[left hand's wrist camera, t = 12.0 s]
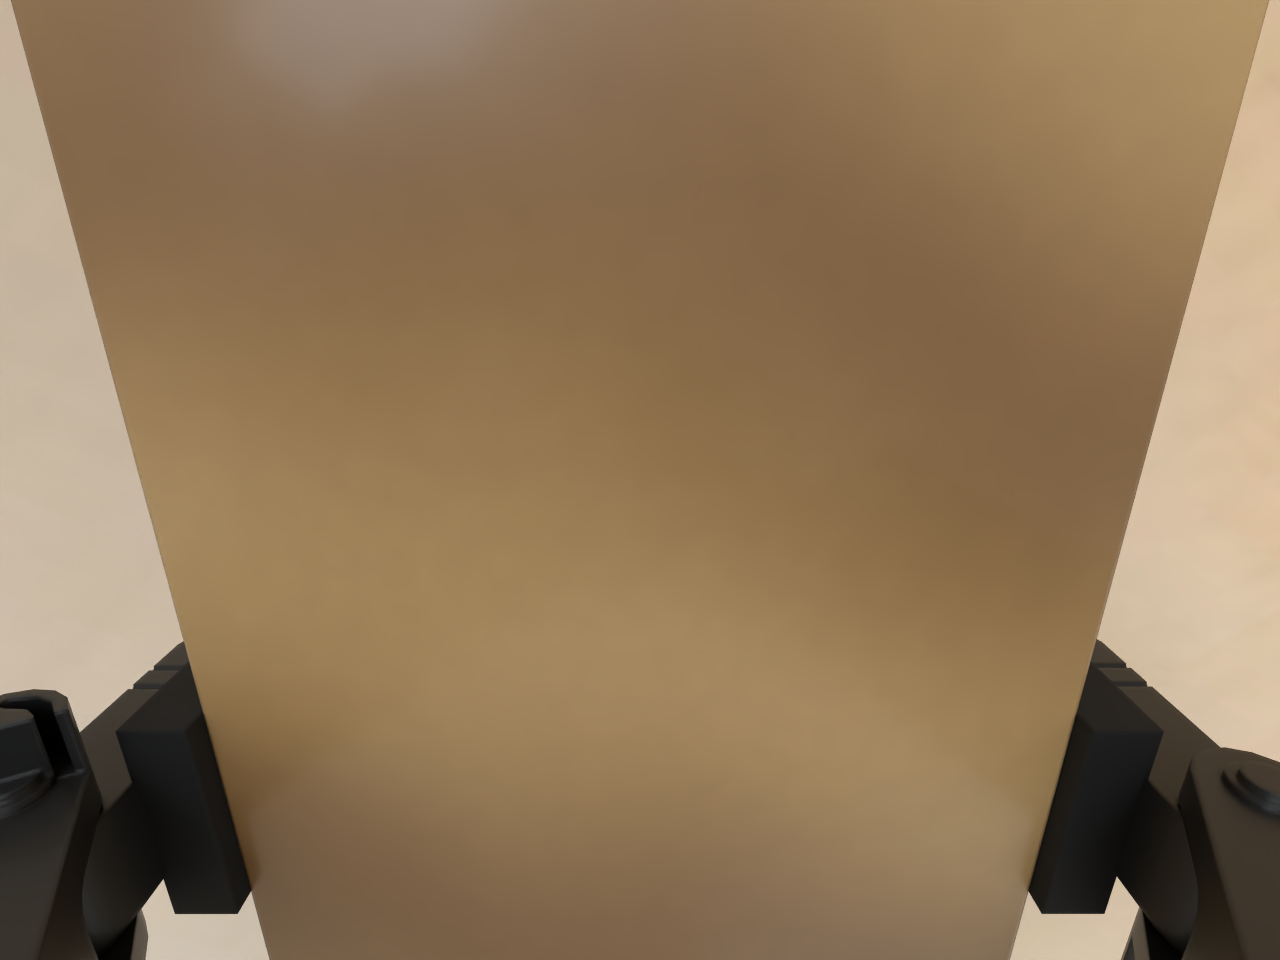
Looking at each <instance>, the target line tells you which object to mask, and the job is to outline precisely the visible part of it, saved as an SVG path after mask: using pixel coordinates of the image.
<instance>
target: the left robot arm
mask: <svg viewBox="0 0 1280 960" xmlns="http://www.w3.org/2000/svg"><path fill="white" fill-rule="evenodd" d="M1146 683H1147V682H1146V681H1145V680H1144V679H1143V678H1142V677H1141V676H1139V675H1138V674H1137V673H1136V672H1135V671H1134V670H1133V669H1132V668H1127V667H1126V663H1125V662H1124V661H1123V660H1121V659H1120V658H1119V657H1118V656H1117V655H1116V654H1115V653H1114V652H1112V651H1111V650H1110V649H1109V648H1108V647H1107V646H1106V645H1105V644H1103V643H1102V642H1101V641H1099V640H1097V639H1096V643H1095V646H1094V650H1093V654H1092V657H1091V661H1090V665H1089V668H1088V672H1087V676H1086V680H1085V683H1084V687H1083V691H1082V694H1081V698H1080V702H1079V705H1078V709H1077V713H1076V717H1075V720H1074V724H1073V728H1072V731H1071V735H1070V739H1069V742H1068V746H1067V750H1066V754H1065V757H1064V761H1063V765H1062V768H1061V772H1060V776H1059V779H1058V783H1057V787H1056V791H1055V794H1054V798H1053V802H1052V805H1051V809H1050V813H1049V816H1048V820H1047V824H1046V828H1045V831H1044V835H1043V839H1042V842H1041V846H1040V850H1039V853H1038V857H1037V861H1036V865H1035V868H1034V872H1033V876H1032V879H1031V883H1030V887H1029V890H1028V891H1029V893H1030V894H1031V896H1032V898H1033V900H1034V901H1035V903H1036V905H1037V906H1038V908H1039V910H1040V911H1041V913H1042V914H1104V913H1105V910H1106V907H1107V904H1108V901H1109V898H1110V895H1111V892H1112V889H1113V886H1114V883H1115V880H1116V877H1118V878H1119V880H1120V881H1121V882H1122V884H1123V885H1124V886H1125V888H1126V889H1127V890H1128V892H1129V893H1130V895H1131V896H1132V897H1133V899H1134V900H1135V901H1136V903H1137V904H1138V905H1139V910H1138V912H1137V915H1136V918H1135V921H1134V924H1133V927H1132V930H1131V932H1130V935H1129V938H1128V941H1127V944H1126V947H1125V950H1124V952H1123V955H1122V958H1121V960H1280V762H1277V761H1275V760H1272V759H1269V758H1266V757H1263V756H1260V755H1258V754H1255V753H1252V752H1247V751H1241V750H1236V749H1231V748H1225V747H1224V748H1220V747H1219V746H1218V745H1217V744H1216V743H1215V742H1214V741H1212V740H1211V739H1210V738H1209V737H1208V736H1207V735H1206V734H1205V733H1203V732H1202V731H1201V730H1200V729H1199V728H1198V727H1197V726H1196V725H1194V724H1193V723H1192V722H1191V721H1190V720H1189V719H1188V718H1187V717H1185V716H1184V715H1183V714H1182V713H1181V712H1180V711H1179V710H1178V709H1176V708H1175V707H1174V706H1173V705H1172V704H1171V703H1170V702H1169V701H1167V700H1166V699H1165V698H1164V697H1163V696H1162V695H1161V694H1160V693H1159V692H1157V691H1156V690H1155V689H1154V688H1153V687H1148V686H1147V684H1146ZM163 879H164V882H165V885H166V888H167V891H168V894H169V897H170V900H171V903H172V906H173V909H174V912H175V914H238V912H239V911H240V909H241V907H242V905H243V904H244V902H245V900H246V899H247V897H248V895H249V894H250V892H251V888H250V885H249V881H248V877H247V874H246V870H245V866H244V862H243V859H242V855H241V851H240V848H239V844H238V840H237V836H236V833H235V829H234V825H233V822H232V818H231V814H230V810H229V807H228V803H227V799H226V796H225V792H224V788H223V785H222V781H221V777H220V773H219V770H218V766H217V762H216V759H215V755H214V751H213V747H212V744H211V740H210V736H209V733H208V729H207V725H206V721H205V718H204V714H203V710H202V707H201V703H200V699H199V696H198V692H197V688H196V684H195V681H194V677H193V673H192V670H191V666H190V662H189V658H188V655H187V651H186V647H185V644H184V641H183V642H182V643H180V644H178V645H177V646H176V647H175V648H174V649H173V650H171V651H170V652H169V653H168V654H167V655H166V656H165V657H164V658H163V659H161V660H160V661H159V662H158V663H157V664H156V665H155V666H154V670H153V671H148V672H147V673H146V674H145V675H144V676H142V677H141V678H140V679H139V680H138V681H137V682H136V683H135V684H134V687H133V689H128V690H127V691H126V692H125V693H123V694H122V695H121V696H120V697H119V698H118V699H117V700H116V701H115V702H113V703H112V704H111V705H110V706H109V707H108V708H107V709H106V710H105V711H103V712H102V713H101V714H100V715H99V716H98V717H97V718H96V719H94V720H93V721H92V722H91V723H90V724H89V725H88V726H87V727H86V728H84V729H83V730H82V731H81V732H80V733H79V730H78V727H77V724H76V721H75V718H74V716H73V713H72V710H71V707H70V704H69V701H68V698H67V697H66V696H64V695H62V694H60V693H59V692H57V691H55V690H37V689H33V690H26V691H20V692H14V693H8V694H3V695H0V960H145V958H146V950H147V942H148V932H147V926H146V921H145V918H144V915H143V912H142V910H141V908H142V907H143V906H144V904H145V903H146V902H147V900H148V899H149V898H150V896H151V895H152V894H153V892H154V891H155V889H156V888H157V887H158V885H159V884H160V883H161V881H162V880H163Z"/></svg>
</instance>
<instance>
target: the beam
mask: <svg viewBox="0 0 1280 960" xmlns="http://www.w3.org/2000/svg"><path fill="white" fill-rule="evenodd" d="M11 2H12V6H13V9H14V13H15V17H16V21H17V24H18V28H19V32H20V35H21V39H22V43H23V47H24V50H25V54H26V58H27V61H28V65H29V69H30V72H31V76H32V80H33V84H34V87H35V91H36V95H37V98H38V102H39V106H40V110H41V113H42V117H43V121H44V124H45V128H46V132H47V136H48V139H49V143H50V147H51V150H52V154H53V158H54V162H55V165H56V169H57V173H58V176H59V180H60V184H61V187H62V191H63V195H64V199H65V202H66V206H67V210H68V213H69V217H70V221H71V225H72V228H73V232H74V236H75V239H76V243H77V247H78V251H79V254H80V258H81V262H82V265H83V269H84V273H85V276H86V280H87V284H88V288H89V291H90V295H91V299H92V302H93V306H94V310H95V314H96V317H97V321H98V325H99V328H100V332H101V336H102V340H103V343H104V347H105V351H106V354H107V358H108V362H109V365H110V369H111V373H112V377H113V380H114V384H115V388H116V391H117V395H118V399H119V403H120V406H121V410H122V414H123V417H124V421H125V425H126V429H127V432H128V436H129V440H130V443H131V447H132V451H133V454H134V458H135V462H136V466H137V469H138V473H139V477H140V480H141V484H142V488H143V492H144V495H145V499H146V503H147V506H148V510H149V514H150V518H151V521H152V525H153V529H154V532H155V536H156V540H157V543H158V547H159V551H160V555H161V558H162V562H163V566H164V569H165V573H166V577H167V581H168V584H169V588H170V592H171V595H172V599H173V603H174V607H175V610H176V614H177V618H178V621H179V625H180V629H181V632H182V636H183V640H184V644H185V647H186V651H187V655H188V658H189V662H190V666H191V670H192V673H193V677H194V681H195V684H196V688H197V692H198V696H199V699H200V703H201V707H202V710H203V714H204V718H205V721H206V725H207V729H208V733H209V736H210V740H211V744H212V747H213V751H214V755H215V759H216V762H217V766H218V770H219V773H220V777H221V781H222V785H223V788H224V792H225V796H226V799H227V803H228V807H229V810H230V814H231V818H232V822H233V825H234V829H235V833H236V836H237V840H238V844H239V848H240V851H241V855H242V859H243V862H244V866H245V870H246V874H247V877H248V881H249V885H250V888H251V892H252V896H253V899H254V903H255V907H256V911H257V914H258V918H259V922H260V925H261V929H262V933H263V937H264V940H265V944H266V948H267V951H268V955H269V959H270V960H1010V957H1011V953H1012V950H1013V946H1014V942H1015V939H1016V935H1017V931H1018V927H1019V924H1020V920H1021V916H1022V913H1023V909H1024V905H1025V902H1026V898H1027V894H1028V890H1029V887H1030V883H1031V879H1032V876H1033V872H1034V868H1035V865H1036V861H1037V857H1038V853H1039V850H1040V846H1041V842H1042V839H1043V835H1044V831H1045V828H1046V824H1047V820H1048V816H1049V813H1050V809H1051V805H1052V802H1053V798H1054V794H1055V791H1056V787H1057V783H1058V779H1059V776H1060V772H1061V768H1062V765H1063V761H1064V757H1065V754H1066V750H1067V746H1068V742H1069V739H1070V735H1071V731H1072V728H1073V724H1074V720H1075V717H1076V713H1077V709H1078V705H1079V702H1080V698H1081V694H1082V691H1083V687H1084V683H1085V680H1086V676H1087V672H1088V668H1089V665H1090V661H1091V657H1092V654H1093V650H1094V646H1095V643H1096V639H1097V635H1098V631H1099V628H1100V624H1101V620H1102V617H1103V613H1104V609H1105V606H1106V602H1107V598H1108V594H1109V591H1110V587H1111V583H1112V580H1113V576H1114V572H1115V569H1116V565H1117V561H1118V557H1119V554H1120V550H1121V546H1122V543H1123V539H1124V535H1125V532H1126V528H1127V524H1128V520H1129V517H1130V513H1131V509H1132V506H1133V502H1134V498H1135V495H1136V491H1137V487H1138V483H1139V480H1140V476H1141V472H1142V469H1143V465H1144V461H1145V458H1146V454H1147V450H1148V446H1149V443H1150V439H1151V435H1152V432H1153V428H1154V424H1155V421H1156V417H1157V413H1158V409H1159V406H1160V402H1161V398H1162V395H1163V391H1164V387H1165V384H1166V380H1167V376H1168V372H1169V369H1170V365H1171V361H1172V358H1173V354H1174V350H1175V347H1176V343H1177V339H1178V335H1179V332H1180V328H1181V324H1182V321H1183V317H1184V313H1185V310H1186V306H1187V302H1188V298H1189V295H1190V291H1191V287H1192V284H1193V280H1194V276H1195V273H1196V269H1197V265H1198V261H1199V258H1200V254H1201V250H1202V247H1203V243H1204V239H1205V236H1206V232H1207V228H1208V224H1209V221H1210V217H1211V213H1212V210H1213V206H1214V202H1215V199H1216V195H1217V191H1218V187H1219V184H1220V180H1221V176H1222V173H1223V169H1224V165H1225V162H1226V158H1227V154H1228V150H1229V147H1230V143H1231V139H1232V136H1233V132H1234V128H1235V125H1236V121H1237V117H1238V113H1239V110H1240V106H1241V102H1242V99H1243V95H1244V91H1245V88H1246V84H1247V80H1248V76H1249V73H1250V69H1251V65H1252V62H1253V58H1254V54H1255V51H1256V47H1257V43H1258V39H1259V36H1260V32H1261V28H1262V25H1263V21H1264V17H1265V14H1266V10H1267V6H1268V2H1269V0H11Z"/></svg>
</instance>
